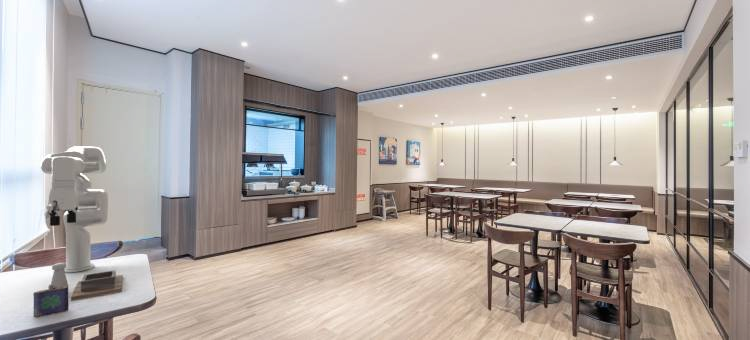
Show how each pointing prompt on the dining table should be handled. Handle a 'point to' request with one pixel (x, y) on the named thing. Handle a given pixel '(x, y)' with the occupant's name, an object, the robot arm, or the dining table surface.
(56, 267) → the salt shaker
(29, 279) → the dining table surface
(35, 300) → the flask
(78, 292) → the holder board
